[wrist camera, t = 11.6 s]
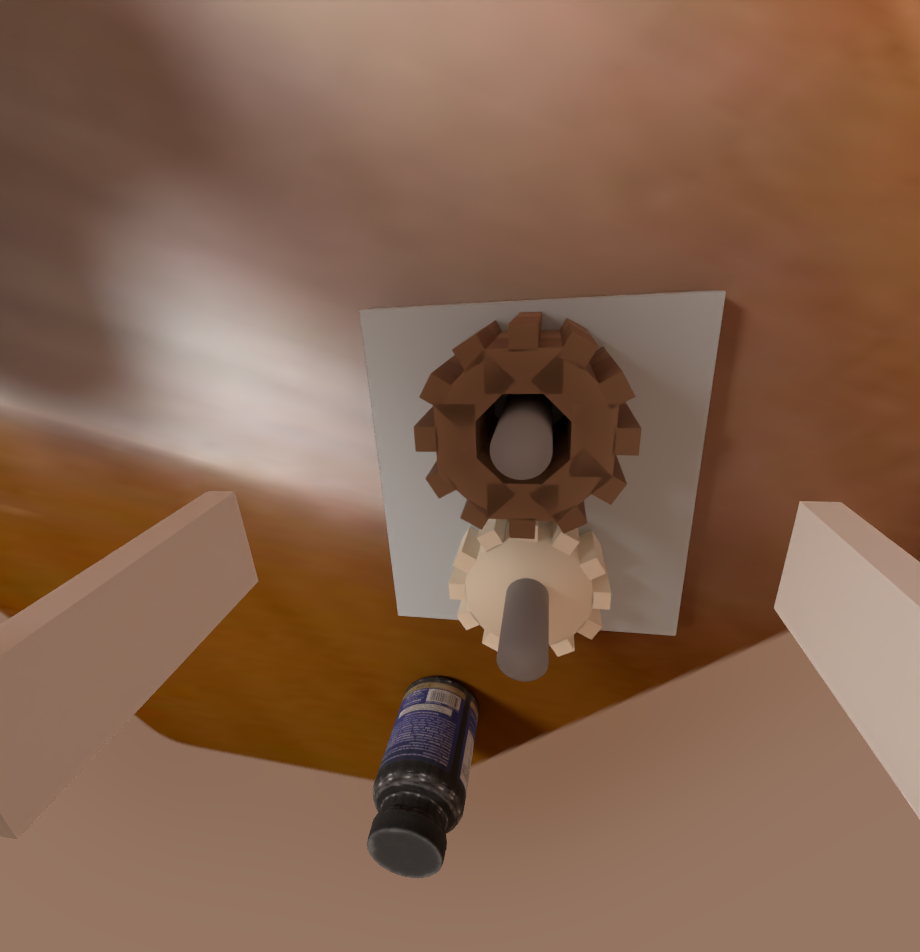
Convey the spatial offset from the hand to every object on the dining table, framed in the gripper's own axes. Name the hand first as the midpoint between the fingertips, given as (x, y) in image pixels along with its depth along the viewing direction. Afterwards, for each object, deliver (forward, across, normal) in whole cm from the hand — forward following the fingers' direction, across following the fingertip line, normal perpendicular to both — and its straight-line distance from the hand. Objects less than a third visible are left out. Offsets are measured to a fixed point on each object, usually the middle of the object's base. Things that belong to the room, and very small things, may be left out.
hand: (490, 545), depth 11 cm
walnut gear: (+15, 0, 0) cm, 15 cm away
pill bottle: (+18, -6, -25) cm, 31 cm away
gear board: (+17, 0, -5) cm, 18 cm away
